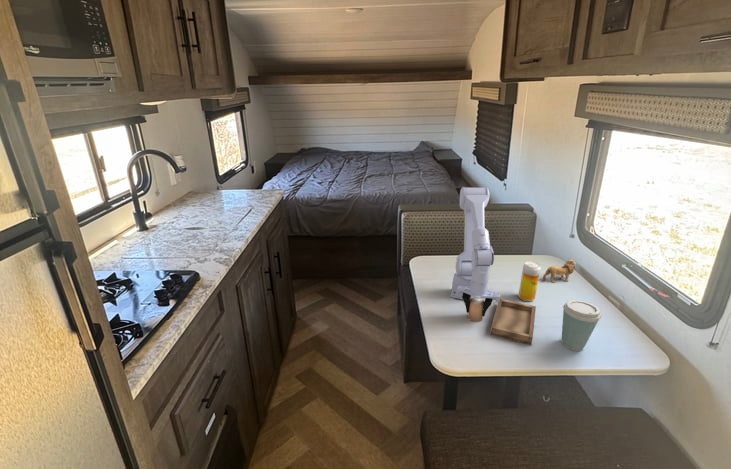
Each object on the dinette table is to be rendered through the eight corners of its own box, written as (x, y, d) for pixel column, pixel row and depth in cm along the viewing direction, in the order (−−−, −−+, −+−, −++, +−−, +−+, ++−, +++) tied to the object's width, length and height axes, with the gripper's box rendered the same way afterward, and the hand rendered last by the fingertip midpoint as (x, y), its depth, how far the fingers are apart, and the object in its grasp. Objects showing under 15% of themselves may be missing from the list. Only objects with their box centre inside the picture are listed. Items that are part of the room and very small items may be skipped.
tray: (490, 334, 128) (491, 327, 127) (498, 305, 145) (499, 298, 144) (531, 345, 123) (532, 337, 122) (534, 313, 139) (535, 306, 138)
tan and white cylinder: (466, 319, 136) (468, 302, 134) (469, 312, 140) (471, 296, 138) (481, 323, 134) (483, 306, 132) (483, 315, 138) (485, 299, 136)
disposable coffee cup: (550, 334, 128) (558, 296, 122) (582, 334, 128) (591, 296, 122) (564, 355, 118) (574, 315, 112) (599, 355, 118) (610, 315, 112)
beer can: (536, 302, 146) (542, 268, 140) (519, 301, 147) (525, 267, 141) (532, 294, 151) (539, 261, 146) (517, 293, 153) (522, 260, 147)
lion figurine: (567, 275, 166) (571, 257, 163) (576, 281, 161) (580, 262, 158) (538, 279, 163) (541, 260, 160) (546, 285, 158) (550, 266, 155)
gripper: (456, 281, 131) (453, 314, 136) (499, 290, 125) (494, 324, 130) (460, 272, 137) (457, 304, 142) (502, 280, 131) (497, 313, 136)
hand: (475, 313), depth 137 cm, fingers closed on tan and white cylinder, 5 cm apart
